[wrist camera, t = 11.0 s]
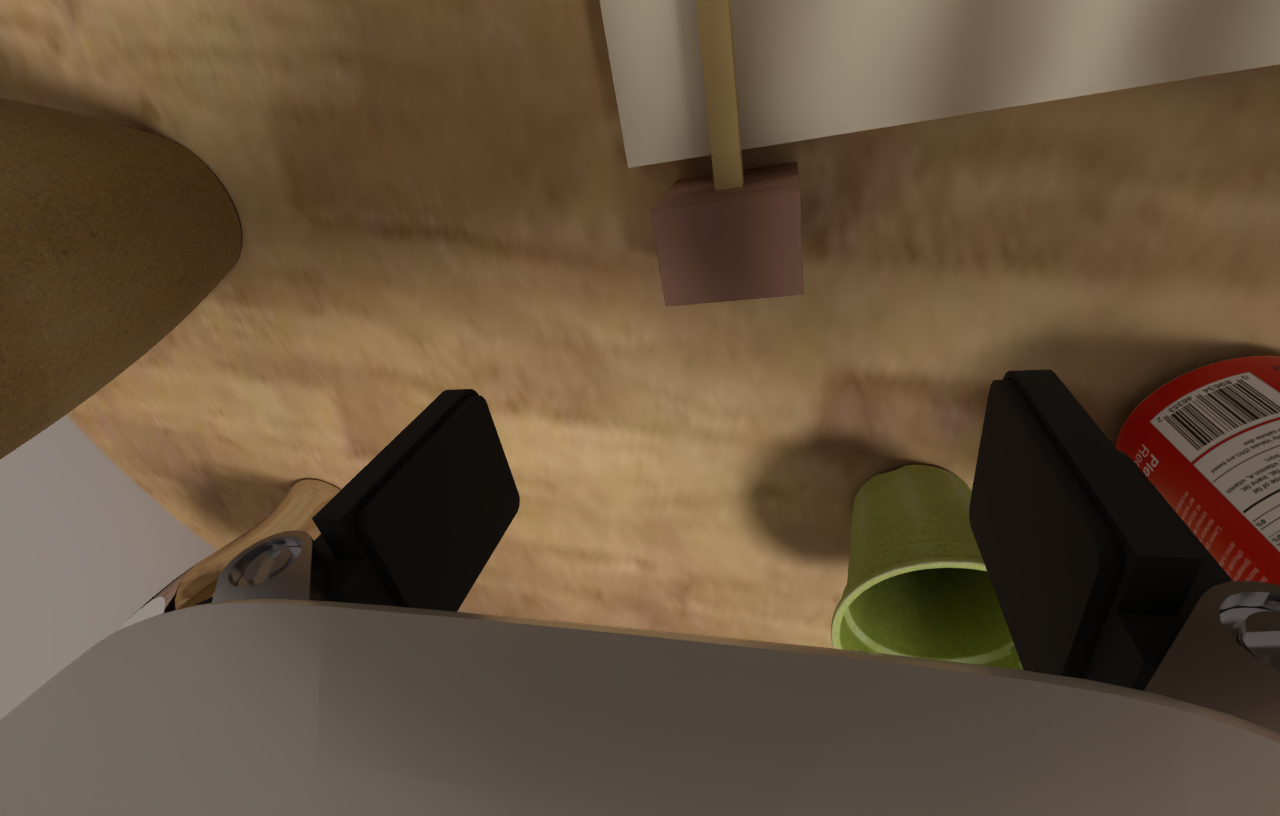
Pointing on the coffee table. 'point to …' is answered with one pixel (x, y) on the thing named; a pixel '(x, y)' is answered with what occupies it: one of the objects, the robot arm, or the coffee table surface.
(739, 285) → the cube with stick handle
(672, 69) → the board
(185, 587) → the beer glass
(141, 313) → the plant pot
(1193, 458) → the soda can
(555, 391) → the coffee table surface
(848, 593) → the plant pot
